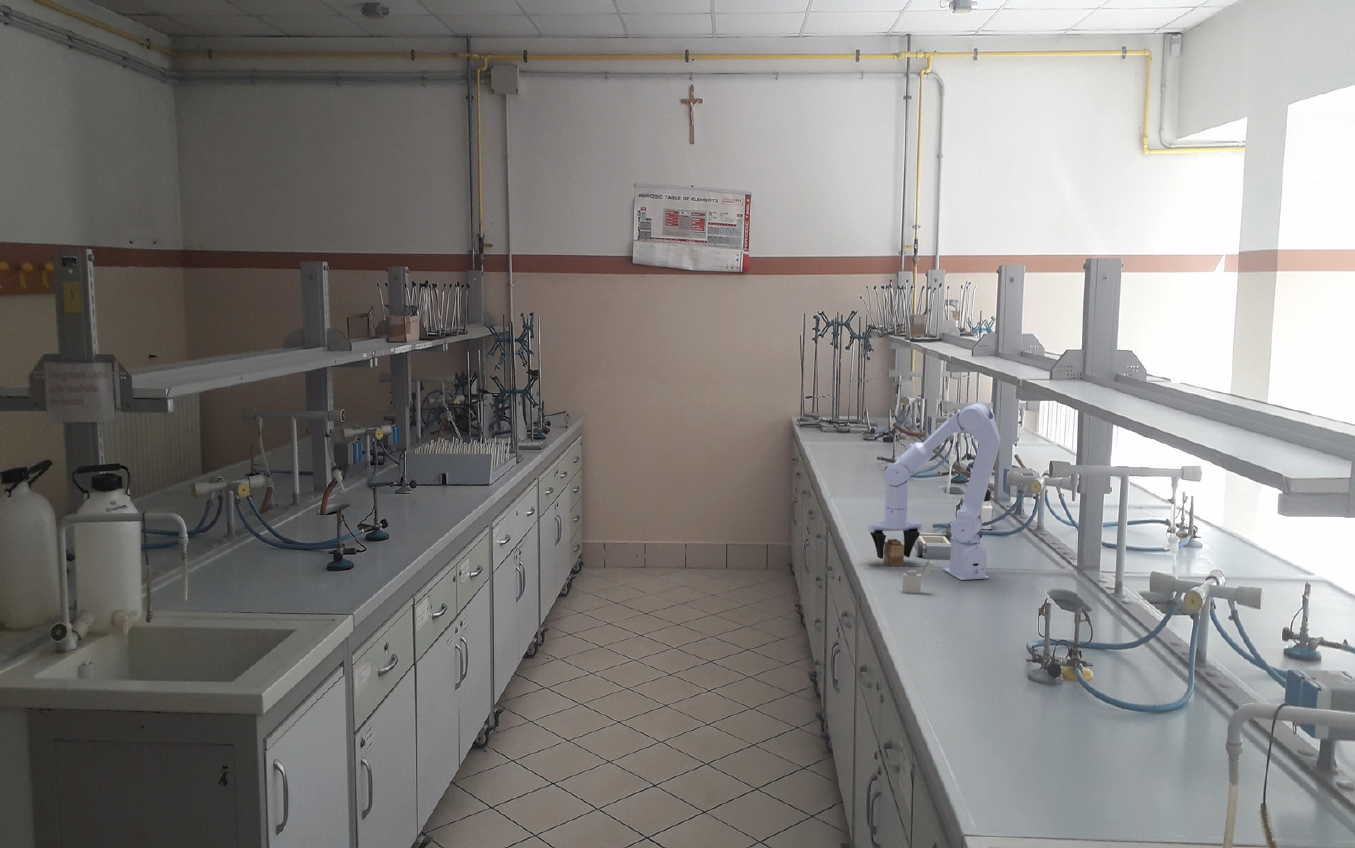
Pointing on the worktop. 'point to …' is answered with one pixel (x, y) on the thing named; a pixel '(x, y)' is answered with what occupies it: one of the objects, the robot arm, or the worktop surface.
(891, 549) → the brown wooden block
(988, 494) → the medicine bottle
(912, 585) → the lighter
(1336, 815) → the worktop surface
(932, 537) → the chassis
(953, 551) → the robot arm
